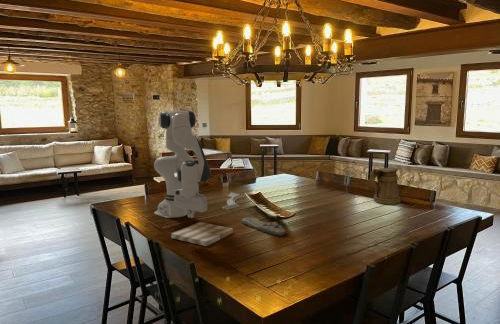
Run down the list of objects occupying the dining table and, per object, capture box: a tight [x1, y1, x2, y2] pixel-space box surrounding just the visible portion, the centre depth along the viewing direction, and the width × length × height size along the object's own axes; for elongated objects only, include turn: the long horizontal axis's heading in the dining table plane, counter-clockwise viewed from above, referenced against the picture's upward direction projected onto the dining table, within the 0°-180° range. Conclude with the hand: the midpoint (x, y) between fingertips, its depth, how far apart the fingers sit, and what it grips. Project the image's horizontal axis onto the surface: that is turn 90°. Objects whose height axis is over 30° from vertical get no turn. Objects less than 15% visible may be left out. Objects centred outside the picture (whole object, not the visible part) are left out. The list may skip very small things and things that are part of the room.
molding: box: [221, 192, 243, 211], centre depth 285 cm, size 42×12×3 cm, turn 177°
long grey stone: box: [241, 216, 287, 237], centre depth 225 cm, size 35×5×10 cm
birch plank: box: [170, 227, 221, 247], centre depth 209 cm, size 24×12×2 cm, turn 58°
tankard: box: [369, 167, 402, 206], centre depth 279 cm, size 18×24×25 cm
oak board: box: [185, 221, 234, 240], centre depth 219 cm, size 24×12×3 cm, turn 58°
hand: (190, 217), depth 205 cm, fingers closed
